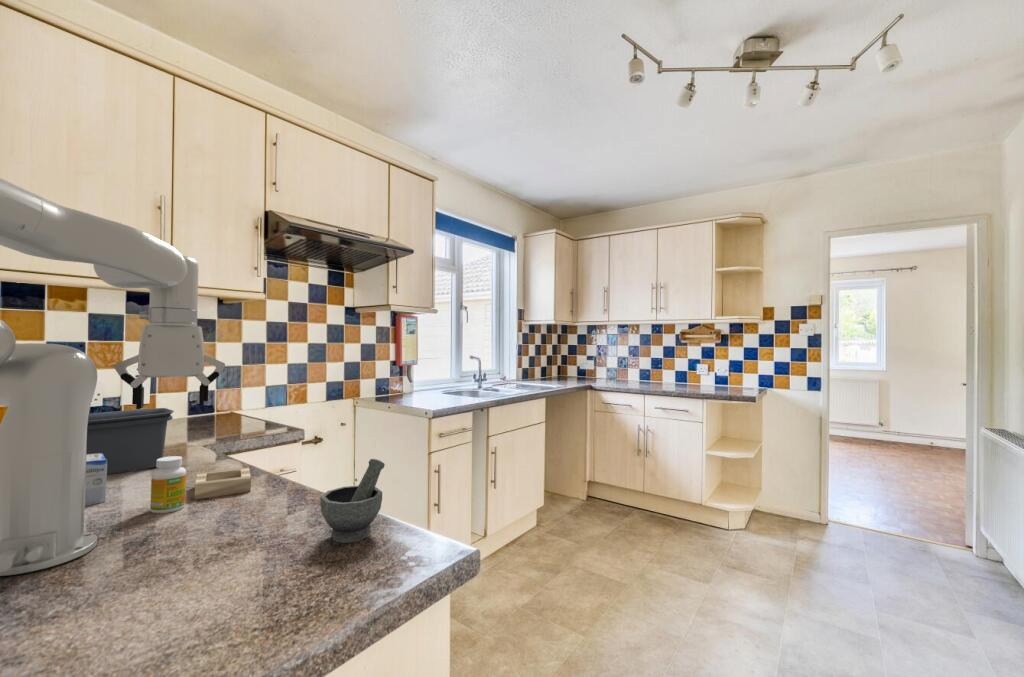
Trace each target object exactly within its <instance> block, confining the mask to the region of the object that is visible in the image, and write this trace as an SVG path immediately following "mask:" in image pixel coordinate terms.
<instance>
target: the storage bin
mask: <svg viewBox="0 0 1024 677" xmlns="http://www.w3.org/2000/svg"><path fill="white" fill-rule="evenodd" d="M174 412H175V411H174V410H172V409H169V408H166V407H157V408H156V407H155V408H153V407H152V408H141V409H129V410H127V409H126V410H117V411H115V410H114V411H103V412H94V413H93V412H92V413H90V412H89V416H88V425H87V454H101V453H102V454H103V455H104V457H105V459H106V460H107V476H110V475H114V474H115V475H116V474H121V473H122V474H123V473H127V472H133V471H138V470H145V469H151V468H157V467H156V462H157V459H159V458H163V457H164V455H165V454H164V453H165V445H166V435H167V427H168V421H171V420H173V415H172V414H173V413H174ZM87 454H86V455H87ZM109 474H110V475H109Z"/></svg>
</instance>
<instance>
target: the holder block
mask: <svg viewBox="0 0 1024 677" xmlns="http://www.w3.org/2000/svg"><path fill="white" fill-rule="evenodd" d="M251 487H252V475H251V471H250V467H249V466H248V467H240V468H230V469H221V470H220V469H219V470H211V471H203V472H197V473H196V479H195V483H194V500H200V499H206V498H215V497H220V496H221V497H222V496H228V495H235V493H237V494H242V492H244V493H249V492H248V491H252V488H251Z"/></svg>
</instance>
